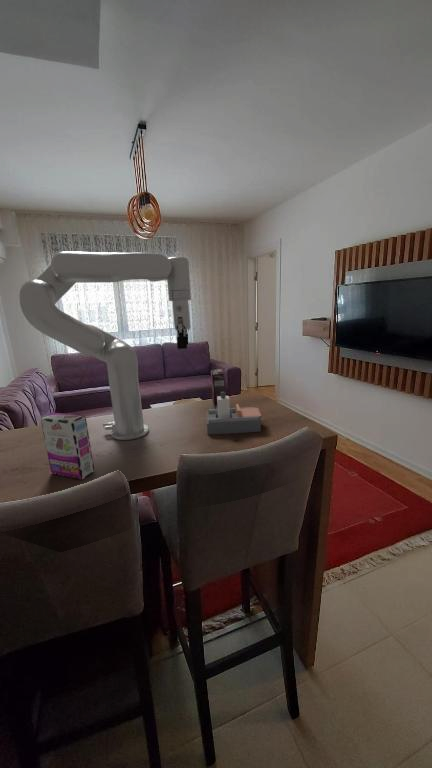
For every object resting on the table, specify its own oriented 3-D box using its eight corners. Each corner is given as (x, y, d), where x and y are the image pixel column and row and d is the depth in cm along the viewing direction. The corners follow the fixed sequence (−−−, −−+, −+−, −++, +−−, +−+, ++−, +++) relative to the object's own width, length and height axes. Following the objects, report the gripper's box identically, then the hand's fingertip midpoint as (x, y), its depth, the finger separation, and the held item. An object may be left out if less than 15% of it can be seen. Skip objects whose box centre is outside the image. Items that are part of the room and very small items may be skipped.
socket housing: (207, 434, 107) (206, 420, 105) (207, 422, 117) (206, 409, 116) (260, 431, 107) (260, 417, 106) (255, 419, 118) (255, 406, 116)
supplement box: (212, 405, 135) (210, 369, 131) (223, 405, 135) (222, 368, 131) (214, 412, 127) (212, 374, 122) (226, 412, 127) (224, 373, 123)
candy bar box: (95, 471, 87) (86, 415, 83) (82, 480, 82) (72, 422, 78) (64, 465, 91) (54, 411, 87) (50, 474, 86) (38, 418, 82)
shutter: (238, 419, 107) (237, 411, 107) (235, 411, 115) (235, 403, 114) (261, 418, 108) (261, 410, 107) (257, 410, 115) (257, 402, 114)
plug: (219, 429, 110) (217, 394, 107) (218, 425, 114) (216, 390, 111) (230, 429, 110) (229, 393, 107) (229, 424, 114) (228, 390, 111)
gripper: (189, 295, 99) (193, 349, 103) (191, 295, 116) (194, 342, 120) (165, 296, 99) (170, 351, 103) (171, 296, 115) (174, 343, 120)
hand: (183, 346), depth 112 cm, fingers open, 9 cm apart
